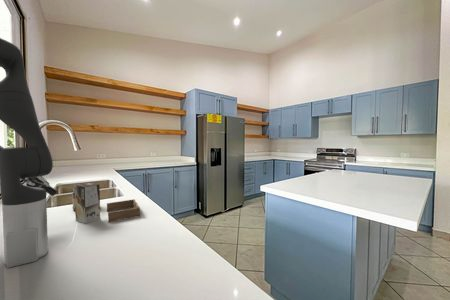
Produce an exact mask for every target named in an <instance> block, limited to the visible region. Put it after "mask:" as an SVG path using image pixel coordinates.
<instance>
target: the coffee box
mask: <svg viewBox="0 0 450 300" xmlns="http://www.w3.org/2000/svg"><path fill="white" fill-rule="evenodd" d="M74 186H75V210H74V211H75V215H74V216H75V221H76V222H79V223H82V224H86V225H88V224H89V223H93V222H97V221H99V220H101V199H100V198H101V192H100V184H99V183H94V182H93V183H92V182H84V183H79V184H74ZM74 186H73V187H74Z"/></svg>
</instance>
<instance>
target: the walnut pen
mask: <svg viewBox="0 0 450 300" xmlns="http://www.w3.org/2000/svg"><path fill="white" fill-rule="evenodd" d="M140 209H141V208H140V206H139V204H138V202H137V201H136V199H127V200H120V201H114V202H108V203H106V212H107V215H108V216H107V220H108V221H107V222H108V223H112V222H116V221H121V220H126V219H132V218H137V217H140V216H141V210H140Z"/></svg>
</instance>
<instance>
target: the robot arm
mask: <svg viewBox="0 0 450 300" xmlns="http://www.w3.org/2000/svg"><path fill="white" fill-rule="evenodd" d="M0 67H1V68H2V69H4V71H5V77H4V78H3V79H2V80H0V121H1V122H3V124H5V125H6V126H7V127H9V129H11V130H13V131H14V132H16V133H17V135H19V136H20V137H21V138H22V139H23V140H24V142H25V144H26V146H25V147H24V146H19V147H18V146H17V147H15V146H14V147H3V146H2V145H0V194H1V195H0V196H1V207H2V214H1V215H2V240H3V242H2V243H3V256H4V257H3V259H4V260H3V262H4V263H3V264H4V265H5V266H6V269H7V268H8V269H9V268H12V267H16V266H20V265H21V266H22V265H26V264H28V263H33V262H37V261H39V259H40V258H42V257H44V256H45V255H47V253H48V251H49V243H48V240H49V237H48V236H49V235H48V209H47V206H48V204H47V194H48V195H50V196H52V197H54V196H55V195H56V194H57V193H58V192H59V191H58V190H57V189H55V188H54V187H52V186H51V184H50V182H49V181H48V180H46V179H45V178H44V177H45V176H47V175H50V174H51V172H52V170H53V168H54V167H53V165H54V163H53V159H52V158H53V157H52V154H51V151H50V149H49V146H48V144H47V141H46V139H45V137H44V135H43V132H42V129H41V127H40V124H39V120H38V117H37V113H36V112H37V111H36V109H35V104H34V101H33V98H32V95H31V92H30V89H29V85H28V80H27V76H26V75H27V74H26V69H25V63H24V57H23V53H22V51H21V49H20V47H18V46H17V45H16V44H14V43H12V42H10V41H7V40H6V39H4V38H1V37H0ZM21 180H22V181H23V182H24V184H22V182H21Z"/></svg>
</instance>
